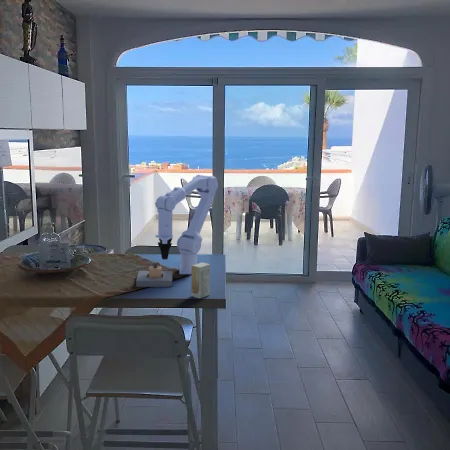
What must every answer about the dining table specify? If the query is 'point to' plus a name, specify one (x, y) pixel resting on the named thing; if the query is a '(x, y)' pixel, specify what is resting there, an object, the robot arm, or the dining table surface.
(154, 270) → the plug
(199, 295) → the skincare box
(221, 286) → the dining table surface
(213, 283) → the dining table surface
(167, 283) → the socket
